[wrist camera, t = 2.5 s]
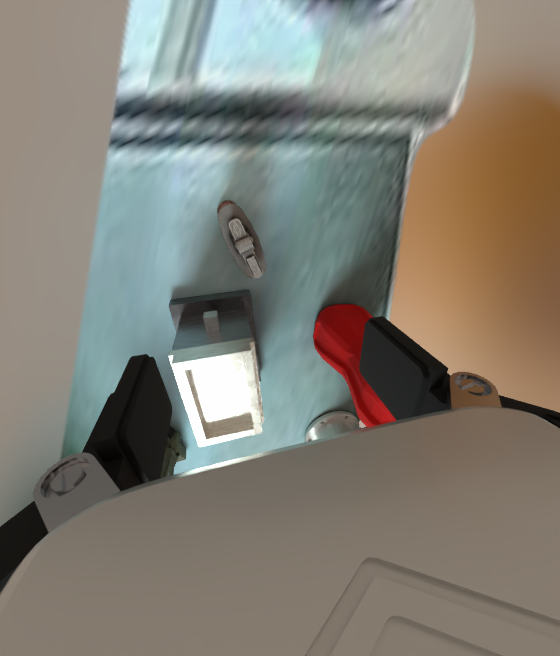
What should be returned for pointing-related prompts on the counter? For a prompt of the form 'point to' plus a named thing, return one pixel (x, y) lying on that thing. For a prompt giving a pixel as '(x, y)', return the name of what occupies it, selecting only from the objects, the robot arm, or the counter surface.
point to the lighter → (241, 239)
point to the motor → (217, 365)
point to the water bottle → (349, 357)
